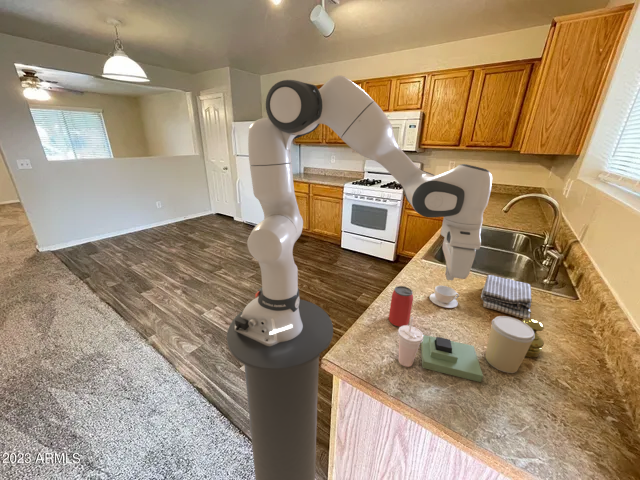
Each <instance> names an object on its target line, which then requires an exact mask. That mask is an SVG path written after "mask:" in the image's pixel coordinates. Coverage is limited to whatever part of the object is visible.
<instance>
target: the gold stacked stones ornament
mask: <svg viewBox="0 0 640 480" xmlns="http://www.w3.org/2000/svg"><path fill="white" fill-rule="evenodd" d="M521 321H522V322H524V323H525V324H527V325H528V326H530V327H531V328H532V330H533V331H534V334H535V338H534V340H533V341H532V343H531V345H530V347H529V349H528V351H527V353H526V355H525V357H527V358H537V357H539V356H540V354H541V351H542V348H543V347H544V345H545V341H544V339H543V338H542V337H541V336H540V335H539V334H538V332H542V331H544V329H545V326H544V325H543V324H542V322H540V321H538V320H536V319H535V318H530V319H529V318H525V319H523V318H522V320H521Z"/></svg>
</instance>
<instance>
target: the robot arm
mask: <svg viewBox="0 0 640 480" xmlns="http://www.w3.org/2000/svg"><path fill="white" fill-rule="evenodd" d="M265 110H266V114H267V117H262V118H259V119H257V120H254V121H253V122H252V123H251V124H250V126H249V128H248V138H247V139H248V140H247V147H248V148H247V153H248V162H249V163H248V164H249V170H250V178H251V185H252V192H253V195H254V197H255V198H256V199H257V201H258V202H259V204H260V206H261V209H262V211H263V215H264V216H263V220H262V221H260V222H259V223H257V224H256V225H255V226H254V227H253V229H252V230H251V232H250V234H249V236H248V238H247V240H246V241H247V242H246V245H247V250H248V252H249V253H250V255H251V256H252V258H254V259H255V260H256V261H257V262H258V265H259V268H260V273H261V274H260V276H261V287H260V288H259V289H258V290H257V292H256V293H255V294H254V296H255V298H253V299H252V300H251V301H250V302H248V303H247V305H246V306H245V307H244V308H243V310H242V311H243V313H242V315H241V316H240V317H238V318H237V319H236V320H235V331H237V332H239V333H241V334H243V335H245V336H247V337H249V338H251V339H253V340H256V341H258V342H260V343H262V344H264V345H266V346H273V345H275V344H277V343H279V342H284V341H288V340H291V339H293V338H295V337H296V336H298V335H299V334H300V332H301V331H302V328H303V324H302V321H301V318H300V313H299V300H300V299H301V298H300V288H299V284H298V283H299V279H298V277H299V269H298V266H297V264H296V263H295V259H294V255H293V254H294V251H293V250H294V246H295V243H296V242H297V240H298V239H299V238H300V237H301V235H302V232H303V229H304V219H303V216H302V215H301V213H300V209H299V205H298V202H297V197H296V192H295V187H294V176H293V175H294V174H293V163H292V153H291V152H292V150H291V149H292V148H291V147H292V142H293V140H297V139H299V138H301V137H303V136H306V135H308V134H309V135H310V134H311V133H312V132H314V131H315V130H316V129H318V128H319V126H320V125H325V126H327V127H328V128H329V129H331V130H332V131H333V132H334V133H335V134H336V135H337V136H338V137H339V138H340V139H341V140H342V141H343V143H345V144H346V145H347V146H348V147H349V148H351V149H352V150H353V151H355V152H356V153H357V154H359V155H361V157H364V158H367V159H369V160H372V161H374V162H376V163H378V164H380V165H381V166H382V167H383V168H384V169H385V170H386V171H387V172H388V173H389V174H390V175H391V176H392V177H393V178H394V179H395V180H396V181H397V182H398V184H400V186H401V189H402V191H403V194H404V197H405V200H406V201H407V202H408V203H409V204H410V205H411V207H412V208H413V210H414V211H415V212H416V213H417V214H418V215H419V216H422V217H424V218H443V220H442V224H441V228H440V235H441V236H442V237H443V242H442V248H441V249H442V253H443V255H444V256H443V257H444V259H445V263H446V264H445V273H444V276H445V279H446V280H447V281H454V279H459V280H466V279H467V278H468V277H469V275H470V272H471V269H472V267H473V265H474V260H475V258H476V253H477V250H480V248H481V245H482V239H481V233H482V226H483V223H484V212H485V210H486V208H487V207H488V204H489V200H490V196H491V191H492V184H493V175H492V173H491V171H490V170H489V169H486V168H484V167H479V166H476V165H471V164H468V163H467V164H466V163H463V164H458V165H456V167H454V168H452V169H450V170H448V171H445V172H443V173H440V174H436V175H435V174H433V173H431V172H429V171H425V170H423V169H422V168H420V167H419V166H418V165H416V164H415V163H414V161H412V159H411V158H410V157H409V156H408V155H407V154H406V153H405V151H403V150H402V148H401V147H400V146H399V144H398V142H397V140H396V137H395V133H394V128H393V124H392V123H391V121H390V119H389V118H388V116H387V115H386V113H385V111H383V110H382V108H381V106H380V105H379V104H378V103H377V102H376V101H375V100H374V99H373V98H372V96H370V95H369V94H368V93H367V92H366V91H365V90H364V89H363V88H362V87H360V86H359V85H358V84H356V83H355V82H354V81H352V80H351V79H349V78H348V77H346V76H344V75H334V76H333V77H330V78H328V79H327V80H326V82H324V84H322V86H321V87H320V88H318V86H317V85H315V84H312V83H307V82H304V81H300V80H296V79H283V80H280V81H278V82H276V83H274V85H272V86H271V88H270V89H269V90H268V92H267V94H266V98H265Z"/></svg>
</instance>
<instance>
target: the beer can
mask: <svg viewBox="0 0 640 480" xmlns="http://www.w3.org/2000/svg"><path fill="white" fill-rule="evenodd" d="M413 302H414V295H413V290H412V289H411V288H410V287H407V286H403V285H398V286H396V287H394V289H393V291H392V293H391V300H390V307H389V314H388V321H389V323H390V324H391V325H393V326H395V327H398V328H400V327H401V326H404V325H410V320H411V313H412V307H413Z"/></svg>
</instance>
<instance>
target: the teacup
mask: <svg viewBox="0 0 640 480" xmlns="http://www.w3.org/2000/svg"><path fill="white" fill-rule="evenodd" d="M459 296H460V294H459V293H458V292H457V291H456V290H455V288H452V287H451V286H447V285H437V286H435V287H434V293H431V294H430V295H429V300H430V301H431V302H432V303H433V304H435V305H436V306H439V307H442V308H447V309H452V308H453V309H454V308H456V307H457V306H458V305H459V302H458V300H457V299H458V298H459Z"/></svg>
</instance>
